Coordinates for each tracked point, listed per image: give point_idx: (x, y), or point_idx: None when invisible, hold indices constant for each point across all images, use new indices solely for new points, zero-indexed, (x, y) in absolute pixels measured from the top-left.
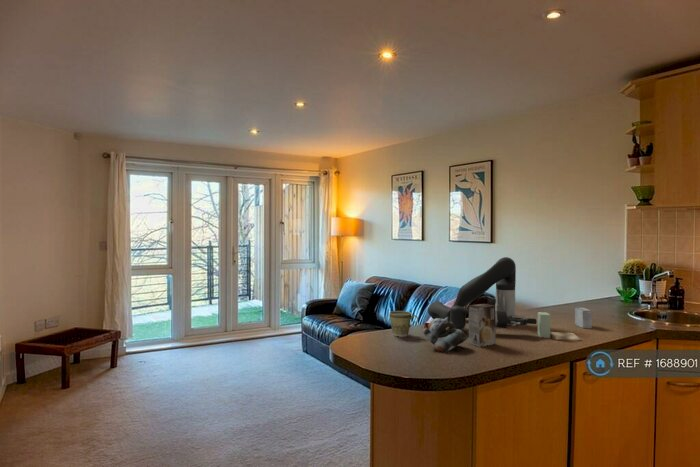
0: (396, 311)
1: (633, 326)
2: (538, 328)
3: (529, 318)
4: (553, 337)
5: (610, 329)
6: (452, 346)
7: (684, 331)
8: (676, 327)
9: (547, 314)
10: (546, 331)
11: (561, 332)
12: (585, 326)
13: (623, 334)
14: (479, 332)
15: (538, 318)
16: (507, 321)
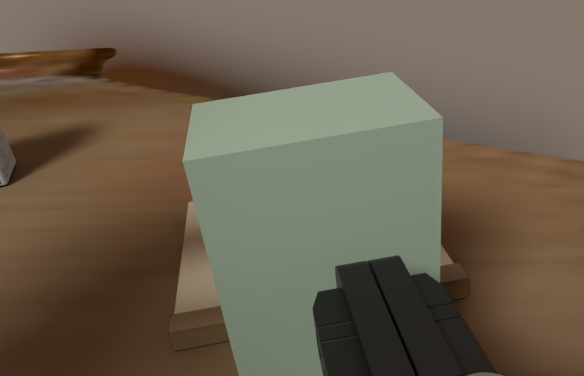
0: None
1: (5, 99)
2: (300, 364)
3: (393, 342)
4: (468, 277)
5: (52, 127)
6: None
7: (99, 53)
8: (42, 61)
9: (363, 86)
10: None
11: (183, 248)
12: (6, 168)
13: (157, 104)
14: None
15: (278, 239)
16: None
